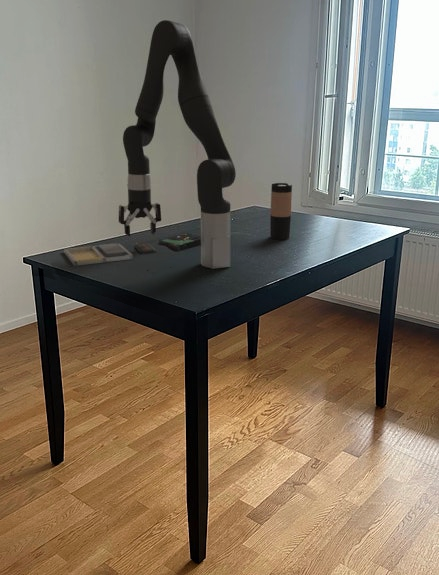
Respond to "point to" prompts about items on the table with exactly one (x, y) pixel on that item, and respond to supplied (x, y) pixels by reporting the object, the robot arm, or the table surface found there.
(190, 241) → the disk drive
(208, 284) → the table surface
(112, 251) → the blank panel
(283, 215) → the travel mug
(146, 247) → the usb drive
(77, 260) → the tray
